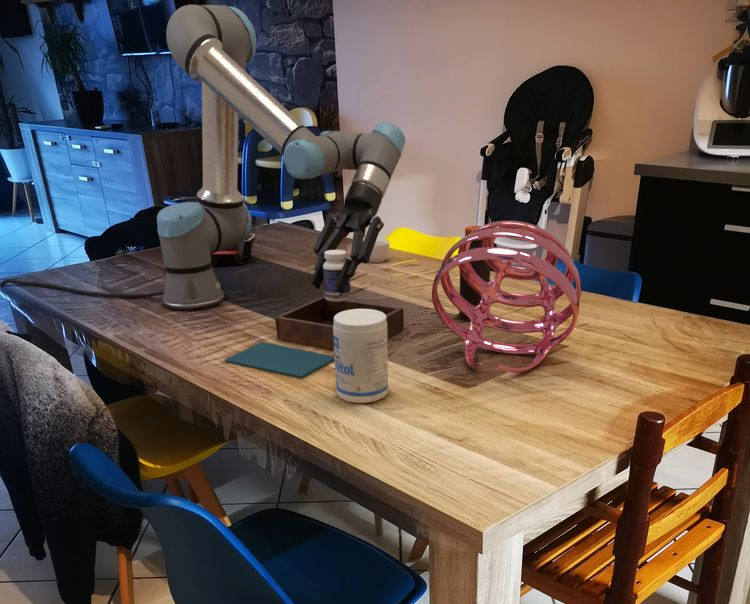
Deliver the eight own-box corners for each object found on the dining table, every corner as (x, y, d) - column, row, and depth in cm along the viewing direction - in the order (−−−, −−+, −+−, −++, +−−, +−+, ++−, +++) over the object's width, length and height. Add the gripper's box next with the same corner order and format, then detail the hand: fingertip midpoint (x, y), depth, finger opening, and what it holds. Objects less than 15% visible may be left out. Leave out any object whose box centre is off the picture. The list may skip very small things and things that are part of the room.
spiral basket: (532, 297, 119) (567, 173, 129) (387, 317, 135) (428, 205, 145) (584, 397, 139) (611, 283, 149) (453, 403, 155) (485, 300, 165)
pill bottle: (347, 302, 160) (345, 255, 155) (321, 302, 161) (318, 254, 156) (353, 295, 165) (351, 248, 160) (328, 294, 166) (325, 248, 161)
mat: (224, 361, 155) (224, 359, 155) (262, 344, 164) (261, 341, 163) (301, 378, 145) (301, 376, 145) (336, 358, 154) (336, 356, 154)
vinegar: (453, 318, 174) (454, 228, 164) (470, 311, 178) (473, 223, 168) (476, 323, 170) (479, 232, 160) (494, 316, 174) (498, 226, 164)
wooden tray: (277, 339, 166) (274, 317, 163) (324, 316, 179) (323, 296, 176) (359, 355, 155) (358, 331, 153) (403, 330, 168) (403, 308, 166)
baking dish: (212, 262, 238) (202, 230, 233) (265, 253, 235) (256, 220, 229) (198, 277, 227) (187, 244, 221) (253, 268, 223) (243, 234, 218)
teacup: (395, 260, 223) (394, 242, 220) (374, 265, 219) (374, 246, 217) (374, 255, 230) (374, 237, 227) (354, 259, 226) (353, 241, 223)
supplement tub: (326, 396, 137) (320, 318, 130) (360, 380, 143) (356, 304, 136) (365, 409, 132) (362, 328, 124) (399, 392, 138) (398, 313, 130)
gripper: (410, 206, 161) (371, 302, 157) (338, 200, 169) (300, 291, 166) (396, 183, 154) (356, 283, 151) (323, 178, 163) (283, 272, 160)
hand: (327, 287), depth 159 cm, fingers closed on pill bottle, 6 cm apart
